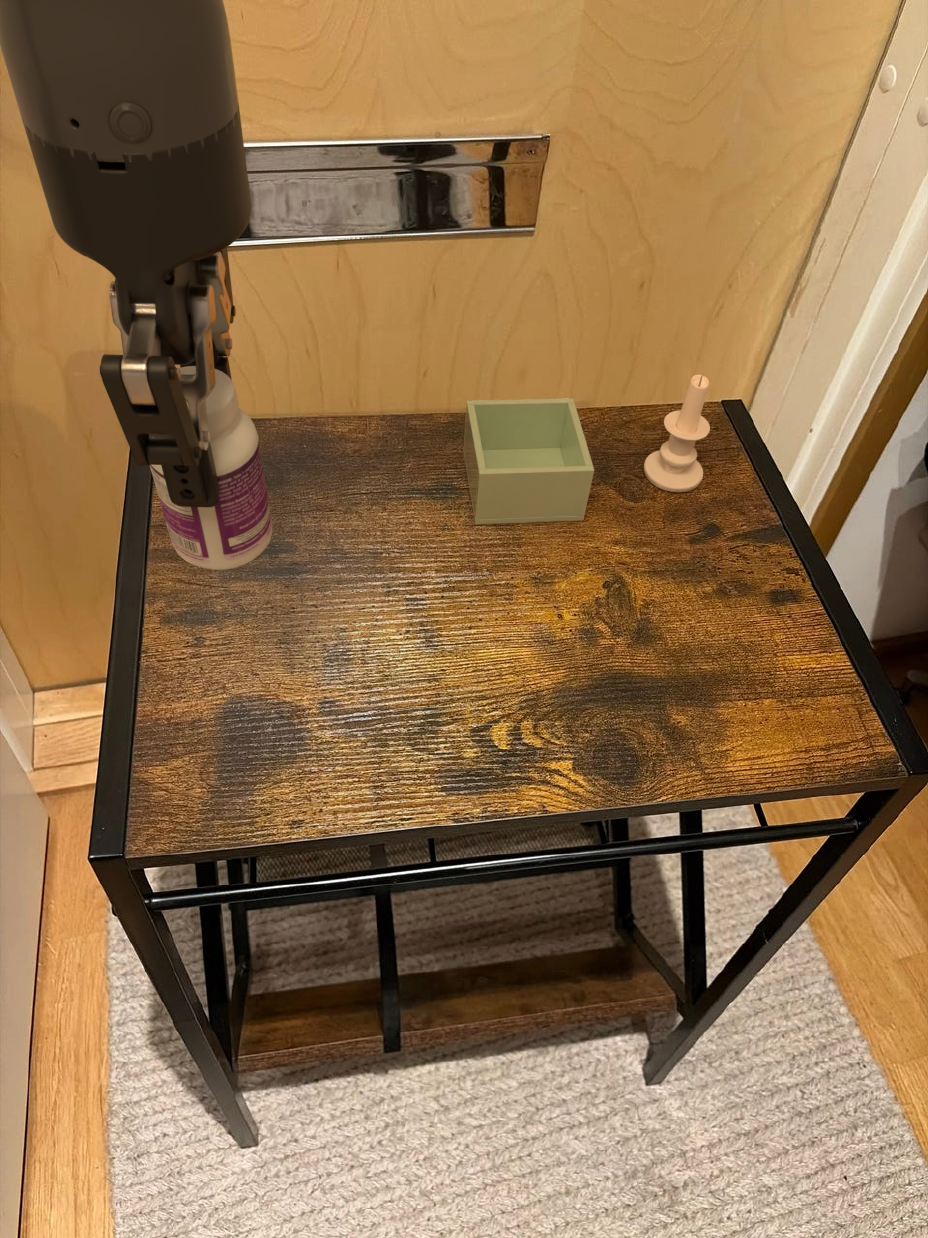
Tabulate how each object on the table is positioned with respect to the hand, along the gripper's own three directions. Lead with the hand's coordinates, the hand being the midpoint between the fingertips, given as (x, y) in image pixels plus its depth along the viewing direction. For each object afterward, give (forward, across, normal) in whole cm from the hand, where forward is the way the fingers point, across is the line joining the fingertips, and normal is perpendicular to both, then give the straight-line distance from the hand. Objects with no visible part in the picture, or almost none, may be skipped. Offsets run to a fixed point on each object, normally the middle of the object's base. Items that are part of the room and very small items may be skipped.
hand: (206, 459), depth 46 cm
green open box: (+24, -25, +19) cm, 39 cm away
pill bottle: (+6, 0, 0) cm, 6 cm away
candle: (+24, -27, +33) cm, 49 cm away
